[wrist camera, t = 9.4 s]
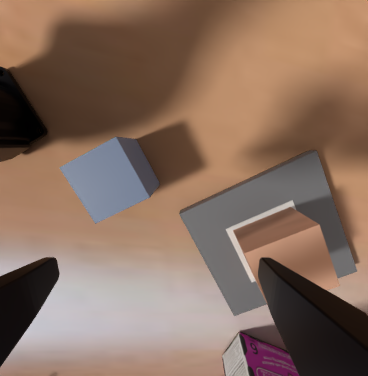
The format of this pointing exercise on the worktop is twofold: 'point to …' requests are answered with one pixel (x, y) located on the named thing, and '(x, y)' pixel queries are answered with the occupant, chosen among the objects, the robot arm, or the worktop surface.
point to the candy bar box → (256, 359)
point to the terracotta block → (288, 246)
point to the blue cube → (111, 177)
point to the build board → (257, 209)
